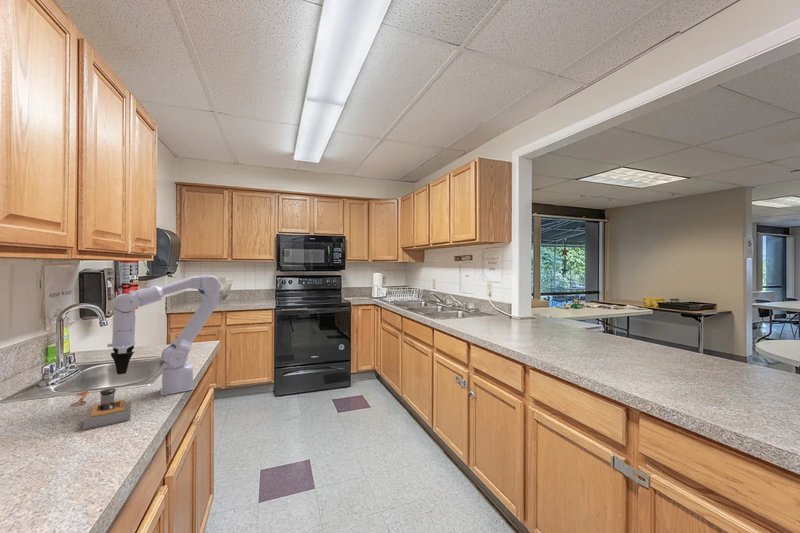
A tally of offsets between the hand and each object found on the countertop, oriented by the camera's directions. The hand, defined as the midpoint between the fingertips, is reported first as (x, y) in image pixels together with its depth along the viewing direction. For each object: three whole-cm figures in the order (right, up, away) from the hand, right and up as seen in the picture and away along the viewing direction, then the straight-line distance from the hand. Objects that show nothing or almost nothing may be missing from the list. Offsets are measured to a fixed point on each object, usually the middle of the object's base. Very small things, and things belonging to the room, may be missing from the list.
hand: (122, 370), depth 109 cm
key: (-17, -11, +2) cm, 20 cm away
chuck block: (+7, -11, -12) cm, 18 cm away
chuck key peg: (+6, -7, -13) cm, 16 cm away
